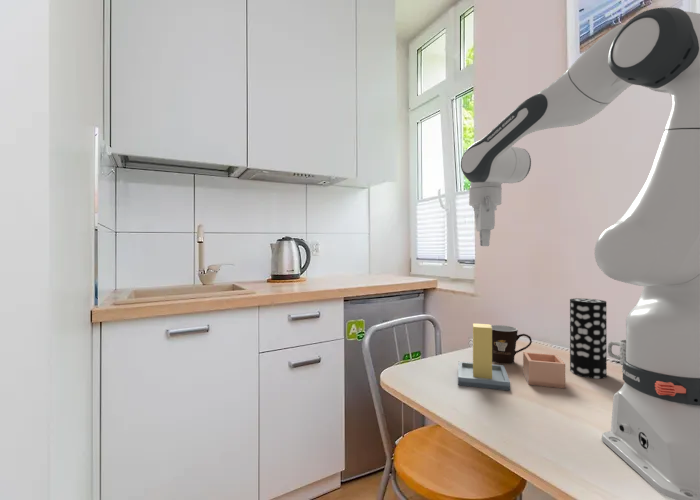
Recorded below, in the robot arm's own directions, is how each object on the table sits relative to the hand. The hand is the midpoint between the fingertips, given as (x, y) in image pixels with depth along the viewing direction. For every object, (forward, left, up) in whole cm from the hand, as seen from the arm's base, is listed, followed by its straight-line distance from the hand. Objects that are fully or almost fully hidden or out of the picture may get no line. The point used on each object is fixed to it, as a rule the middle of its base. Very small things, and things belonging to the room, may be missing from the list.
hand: (484, 246), depth 103 cm
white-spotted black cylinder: (+1, -27, -35) cm, 44 cm away
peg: (-12, +1, -34) cm, 36 cm away
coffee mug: (+5, -7, -35) cm, 36 cm away
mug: (+14, -41, -35) cm, 56 cm away
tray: (-12, +1, -35) cm, 37 cm away
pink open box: (-9, -14, -35) cm, 39 cm away
